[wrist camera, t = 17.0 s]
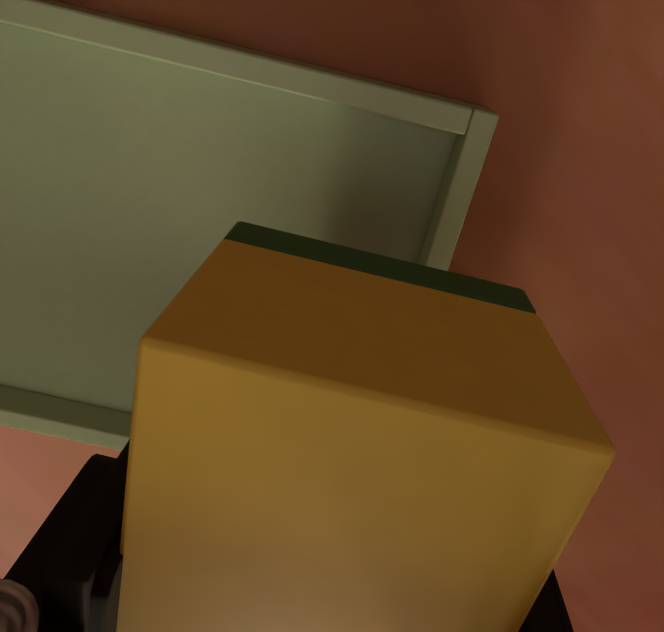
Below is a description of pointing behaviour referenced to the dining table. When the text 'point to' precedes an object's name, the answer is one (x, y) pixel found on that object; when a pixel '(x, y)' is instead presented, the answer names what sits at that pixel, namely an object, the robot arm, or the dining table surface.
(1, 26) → the tray
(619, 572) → the dining table surface
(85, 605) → the robot arm
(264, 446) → the sponge
